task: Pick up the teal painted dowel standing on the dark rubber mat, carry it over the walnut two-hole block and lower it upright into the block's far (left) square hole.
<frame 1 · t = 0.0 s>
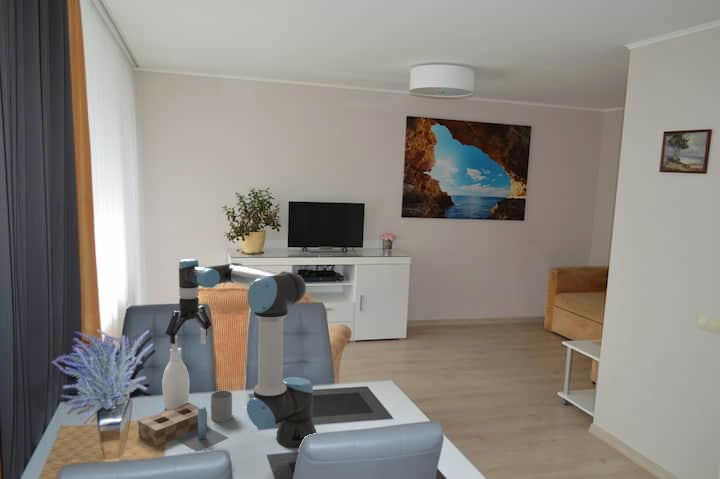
hand: (189, 347, 222), 28 cm above the table, fingers open, 13 cm apart
mat: (202, 439, 203), on the table
cup: (221, 418, 221), on the table
block: (173, 430, 209), on the table
bottle: (176, 407, 230), on the table
peg: (202, 438, 203), resting on mat
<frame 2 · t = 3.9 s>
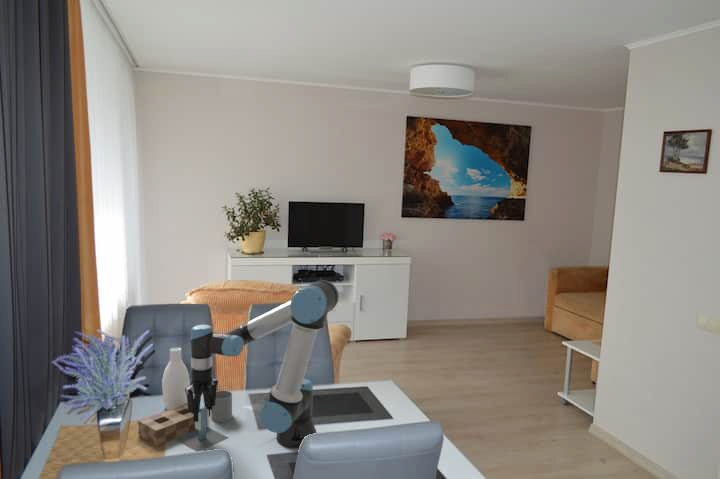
hand: (202, 427, 202), 5 cm above the table, fingers closed on peg, 3 cm apart
peg: (202, 438, 203), resting on mat, touching gripper
everything else where it was.
when the fingers open (8 cm above the table, at t = 9.1 s): peg drops 4 cm, resting in block.
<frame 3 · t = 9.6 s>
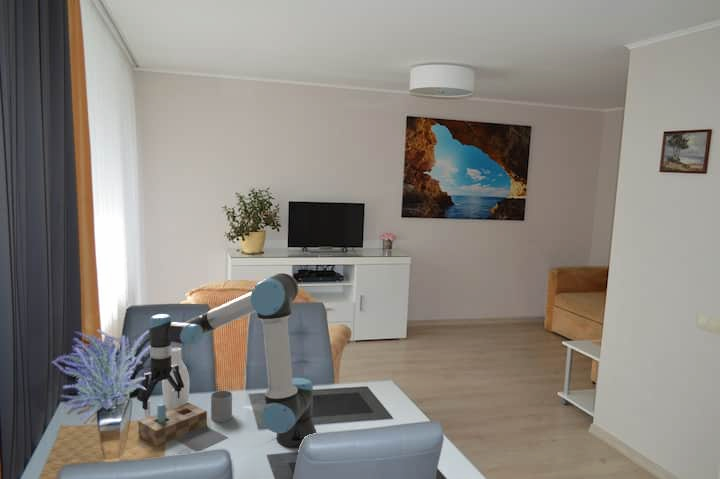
hand: (161, 411, 204), 9 cm above the table, fingers open, 11 cm apart
peg: (161, 435, 205), resting in block
everything else where it was.
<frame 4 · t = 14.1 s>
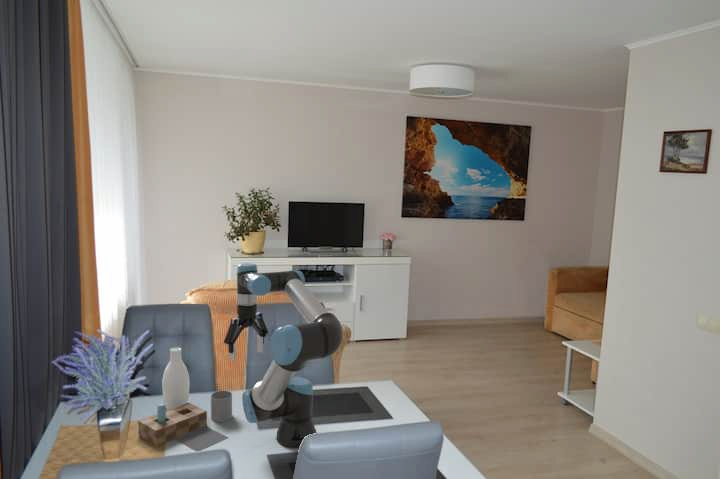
hand: (246, 356, 211), 29 cm above the table, fingers open, 13 cm apart
nothing on the table moved.
at the end: peg 0.0 cm from the target spot on the block, point 0.0 cm above the block's base; peg tilted 0°; the gripper is holding nothing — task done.
